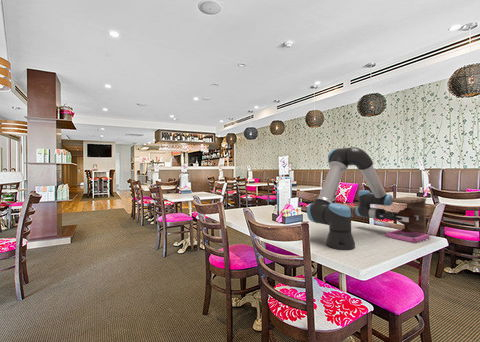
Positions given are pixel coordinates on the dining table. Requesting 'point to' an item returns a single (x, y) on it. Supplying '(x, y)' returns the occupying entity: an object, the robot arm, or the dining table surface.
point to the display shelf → (416, 212)
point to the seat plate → (407, 236)
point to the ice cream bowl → (410, 214)
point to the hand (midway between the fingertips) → (413, 218)
